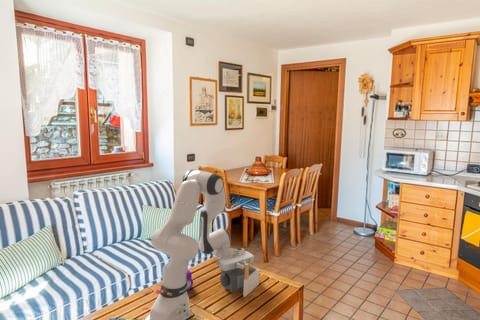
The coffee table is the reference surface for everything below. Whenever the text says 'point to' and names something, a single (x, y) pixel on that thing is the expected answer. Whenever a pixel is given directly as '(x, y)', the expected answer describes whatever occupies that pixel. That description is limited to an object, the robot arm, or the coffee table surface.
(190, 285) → the toy camera
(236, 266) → the robot arm
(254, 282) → the thin white panel
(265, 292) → the coffee table surface
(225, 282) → the gray box camera
